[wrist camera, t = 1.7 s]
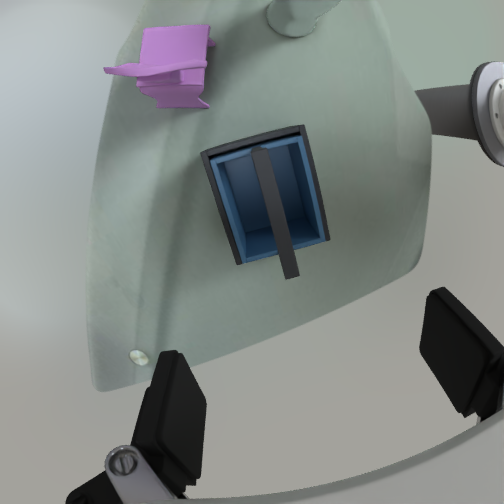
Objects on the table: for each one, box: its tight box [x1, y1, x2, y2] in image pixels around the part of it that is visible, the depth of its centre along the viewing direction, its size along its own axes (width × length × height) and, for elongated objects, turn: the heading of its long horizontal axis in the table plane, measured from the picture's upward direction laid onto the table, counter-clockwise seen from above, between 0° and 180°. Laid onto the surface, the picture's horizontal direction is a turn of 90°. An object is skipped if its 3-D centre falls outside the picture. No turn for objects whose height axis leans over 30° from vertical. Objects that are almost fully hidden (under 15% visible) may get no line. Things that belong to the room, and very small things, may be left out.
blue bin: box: [210, 135, 326, 279], centre depth 28 cm, size 8×10×13 cm
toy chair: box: [104, 25, 215, 108], centre depth 22 cm, size 8×9×15 cm
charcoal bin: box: [200, 124, 330, 265], centre depth 31 cm, size 10×12×7 cm
